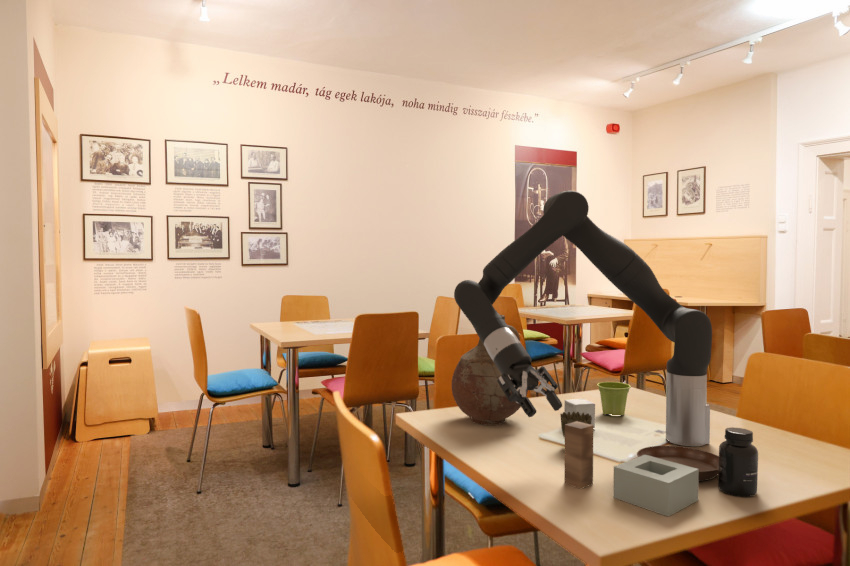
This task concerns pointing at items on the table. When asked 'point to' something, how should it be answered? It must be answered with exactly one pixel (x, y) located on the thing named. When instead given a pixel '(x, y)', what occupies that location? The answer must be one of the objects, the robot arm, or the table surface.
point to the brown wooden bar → (578, 454)
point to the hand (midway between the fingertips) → (546, 411)
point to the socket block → (656, 484)
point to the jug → (481, 387)
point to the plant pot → (613, 397)
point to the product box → (580, 408)
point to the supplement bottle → (738, 463)
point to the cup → (574, 419)
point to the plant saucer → (686, 458)
